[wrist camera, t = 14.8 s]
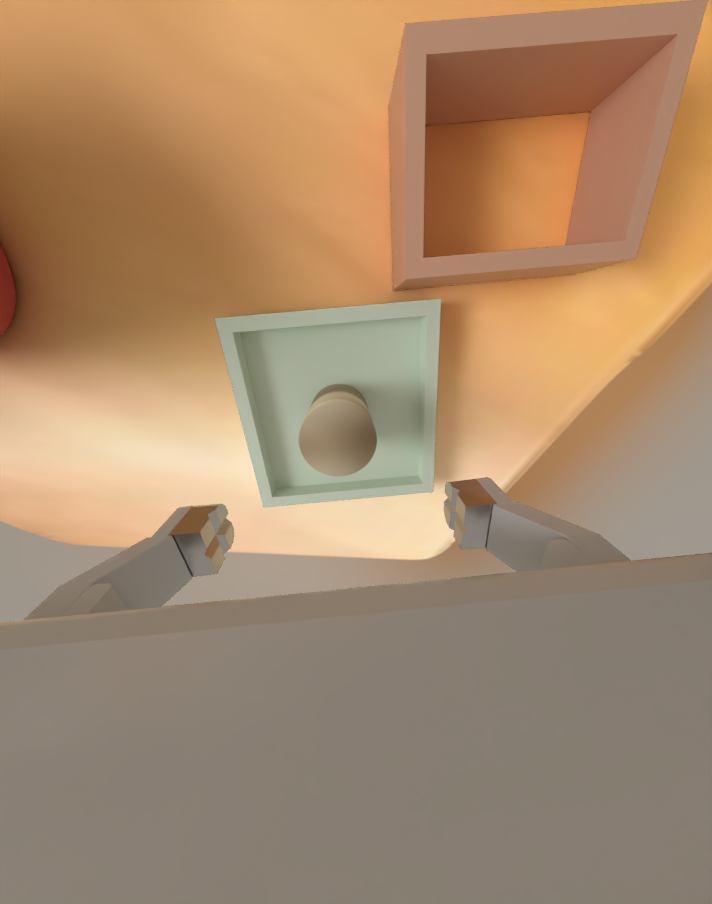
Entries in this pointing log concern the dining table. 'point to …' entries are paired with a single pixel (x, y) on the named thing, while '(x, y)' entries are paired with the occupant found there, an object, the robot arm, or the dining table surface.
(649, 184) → the open square frame
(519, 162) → the dining table surface
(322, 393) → the beech cylinder
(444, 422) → the dining table surface
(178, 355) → the dining table surface
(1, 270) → the citrus juicer
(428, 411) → the tray
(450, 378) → the dining table surface
